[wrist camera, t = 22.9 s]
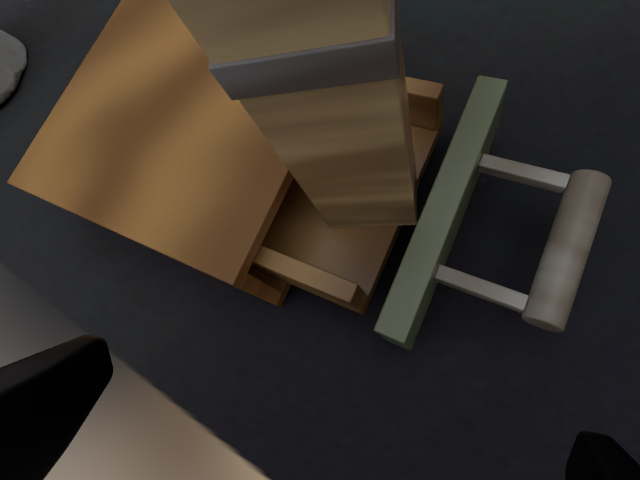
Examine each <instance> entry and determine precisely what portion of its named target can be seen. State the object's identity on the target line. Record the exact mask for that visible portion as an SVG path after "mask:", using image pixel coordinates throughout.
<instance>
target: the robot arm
mask: <svg viewBox="0 0 640 480" xmlns="http://www.w3.org/2000/svg"><path fill="white" fill-rule="evenodd" d="M112 374H113V365H112V362H111V357H110V353H109V349H108V346H107V342H106V341H105V340H104V339H103V338H101V337H96V336H91V335H83V336H80V337H78V338H75V339H72V340H70V341H67V342H65V343H62V344H60V345H57V346H54V347H52V348H49V349H47V350H44V351H42V352H39V353H37V354H34V355H31V356H29V357H26V358H24V359H21V360H19V361H16V362H13V363H11V364H8V365H6V366H3V367H1V368H0V480H43V479H44V478H45V477H46V476H47V474H48V473H49V472H50V470H51V469H52V467H53V466H54V465H55V463H56V462H57V461H58V459H59V458H60V457H61V456H62V454H63V453H64V451H65V450H66V449H67V447H68V446H69V444H70V443H71V441H72V440H73V438H74V437H75V435H76V433H77V432H78V430H79V429H80V427H81V426H82V424H83V422H84V421H85V419H86V418H87V416H88V415H89V413H90V411H91V410H92V408H93V407H94V405H95V403H96V402H97V400H98V399H99V397H100V395H101V394H102V392H103V391H104V389H105V388H106V386H107V384H108V383H109V381H110V379H111V377H112ZM565 476H566V480H640V465H639V464H638V463H637V462H636V461H635V460H634V459H633V458H632V457H631V456H630V455H629V454H628V453H627V452H626V451H625V450H624V449H623V448H622V447H621V446H620V445H619V444H618V443H617V442H616V441H615V440H614V439H613V438H611V437H610V436H608V435H605V434H599V433H594V432H589V431H581V432H580V433H579V434H578V435H577V437H576V440H575V442H574V445H573V448H572V450H571V453H570V456H569V458H568V461H567V464H566V471H565Z"/></svg>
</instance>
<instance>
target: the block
mask: <svg viewBox="0 0 640 480" xmlns="http://www.w3.org/2000/svg"><path fill="white" fill-rule="evenodd" d="M167 1H168V2H169V4H170V5H171V7H172V8H173V9H174V11H175V12H176V13H177V15H178V16H179V18H180V19H181V20H182V22H183V23H184V25H185V26H186V27H187V29H188V30H189V32H190V33H191V34H192V36H193V37H194V39H195V40H196V41H197V43H198V44H199V46H200V47H201V48H202V50H203V51H204V53H205V54H206V55H207V57H208V58H209V60H210V61H209V67H208V68H209V71H210V72H211V73H212V75H213V76H214V77H215V79H216V80H217V81H218V83H219V84H220V85H221V87H222V88H223V89H224V91H225V92H226V93H227V95H228V96H229V98H230V99H231V100H239V101H240V103H241V104H242V106H243V107H244V108H245V110H246V111H247V113H248V114H249V115H250V117H251V118H252V120H253V121H254V122H255V124H256V125H257V127H258V128H259V129H260V131H261V132H262V134H263V135H264V136H265V138H266V139H267V140H268V142H269V143H270V145H271V146H272V147H273V149H274V150H275V152H276V153H277V154H278V156H279V157H280V159H281V160H282V161H283V163H284V164H285V166H286V167H287V168H288V170H289V171H290V173H291V174H292V175H293V177H294V178H295V180H296V181H297V182H298V184H299V185H300V187H301V188H302V189H303V191H304V192H305V194H306V195H307V196H308V198H309V199H310V200H311V202H312V203H313V205H314V206H315V207H316V209H317V210H318V212H319V213H320V214H321V216H322V217H323V219H324V220H325V221H326V223H327V224H328V226H329V227H330V228H348V227H372V226H397V225H417V223H418V221H417V172H416V164H415V155H414V146H413V138H412V129H411V120H410V111H409V103H408V94H407V85H406V77H405V68H404V59H403V51H402V42H401V33H400V0H167Z"/></svg>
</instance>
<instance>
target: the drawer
mask: <svg viewBox="0 0 640 480" xmlns="http://www.w3.org/2000/svg"><path fill="white" fill-rule="evenodd" d="M507 84H508V81H507V80H503V79H498V78H492V77H487V76H481V75H479V76H478V77H477V79H476V82H475V84H474V87H473V89H472V92H471V94H470V96H469V99H468V101H467V104H466V106H465V109H464V111H463V113H462V116H461V118H460V121H459V123H458V126H457V128H456V130H455V133H454V135H453V138H452V140H451V143H450V145H449V147H448V150H447V152H446V155H445V157H444V160H443V162H442V164H441V167H440V169H439V172H438V174H437V177H436V179H435V181H434V184H433V186H432V189H431V191H430V194H429V196H428V198H427V201H426V203H425V206H424V208H423V211H422V213H421V215H420V218H419V220H418V223H417V225H416V228H415V230H414V232H413V235H412V237H411V240H410V242H409V245H408V247H407V249H406V252H405V254H404V257H403V259H402V262H401V264H400V266H399V269H398V271H397V274H396V276H395V279H394V281H393V283H392V286H391V288H390V291H389V293H388V296H387V298H386V300H385V303H384V305H383V308H382V310H381V313H380V315H379V317H378V320H377V322H376V325H375V327H374V331H375V332H376V333H377V334H379V335H380V336H381V337H383V338H384V339H385V340H387V341H389V342H391V343H393V344H396V345H398V346H400V347H402V348H405V349H407V350H409V351H411V350H412V348H413V345H414V343H415V340H416V338H417V335H418V332H419V330H420V327H421V325H422V322H423V320H424V317H425V314H426V312H427V309H428V307H429V304H430V302H431V299H432V296H433V294H434V291H435V289H436V286H437V284H438V283H441V284H444V285H446V286H449V287H452V288H455V289H457V290H460V291H463V292H465V293H468V294H471V295H473V296H476V297H479V298H482V299H484V300H487V301H490V302H492V303H495V304H498V305H501V306H503V307H506V308H509V309H511V310H514V311H517V312H519V313H521V312H522V311H523V312H522V315H521V316H522V319H523V320H525V321H526V322H528V323H530V324H532V325H534V326H536V327H539V328H542V329H545V330H548V331H553V332H563V331H564V330H565V327H566V324H567V321H568V317H569V314H570V311H571V308H572V305H573V302H574V299H575V296H576V293H577V289H578V286H579V283H580V280H581V277H582V274H583V271H584V268H585V265H586V261H587V258H588V255H589V252H590V249H591V246H592V243H593V240H594V237H595V233H596V230H597V227H598V224H599V221H600V218H601V215H602V212H603V209H604V205H605V202H606V199H607V196H608V193H609V190H610V187H611V184H612V182H611V179H610V177H609V176H608V175H606V174H604V173H602V172H599V171H595V170H588V169H583V170H577V171H574V172H573V173H571V174H570V175H569V174H565V173H561V172H557V171H553V170H549V169H545V168H541V167H537V166H533V165H529V164H525V163H521V162H516V161H512V160H508V159H504V158H500V157H496V156H492V155H488V153H489V150H490V148H491V145H492V143H493V140H494V138H495V135H496V132H497V129H498V124H499V120H500V116H501V111H502V107H503V102H504V98H505V93H506V89H507ZM406 85H407V94H408V103H409V111H410V120H411V129H412V138H413V146H414V155H415V164H416V172H417V189H418V186H419V184H420V182H421V179H422V177H423V174H424V172H425V170H426V167H427V165H428V163H429V160H430V158H431V155H432V153H433V151H434V148H435V146H436V143H437V141H438V139H439V136H440V134H441V131H442V129H443V88H444V86H443V84H441V83H436V82H431V81H426V80H421V79H415V78H410V77H406ZM480 173H485V174H489V175H492V176H496V177H500V178H504V179H508V180H511V181H515V182H519V183H523V184H527V185H530V186H534V187H538V188H542V189H546V190H549V191H553V192H557V193H563V192H564V193H563V196H562V199H561V202H560V205H559V208H558V211H557V214H556V216H555V219H554V222H553V225H552V228H551V231H550V234H549V237H548V240H547V243H546V246H545V248H544V251H543V254H542V257H541V260H540V263H539V266H538V269H537V272H536V275H535V278H534V280H533V283H532V286H531V289H530V292H529V295H526V294H523V293H520V292H517V291H515V290H512V289H509V288H506V287H503V286H500V285H498V284H495V283H492V282H489V281H486V280H483V279H481V278H478V277H475V276H472V275H469V274H466V273H464V272H461V271H458V270H455V269H452V268H449V267H447V266H445V263H446V261H447V258H448V255H449V253H450V250H451V248H452V245H453V243H454V240H455V238H456V235H457V232H458V230H459V227H460V225H461V222H462V220H463V217H464V214H465V212H466V209H467V207H468V204H469V202H470V199H471V196H472V194H473V191H474V189H475V186H476V184H477V181H478V179H479V176H480ZM401 227H402V225H397V226H372V227H348V228H330V227H329V226H328V224H327V223H326V221H325V220H324V219H323V217H322V216H321V214H320V213H319V212H318V210H317V209H316V207H315V206H314V205H313V203H312V202H311V200H310V199H309V198H308V196H307V195H306V194H305V192H304V191H303V189H302V188H301V187H300V185H299V184H298V182H297V181H296V180H295V178H293V180H292V182H291V184H290V186H289V188H288V190H287V192H286V194H285V196H284V198H283V200H282V202H281V204H280V207H279V209H278V211H277V213H276V215H275V217H274V219H273V221H272V223H271V225H270V227H269V229H268V231H267V233H266V235H265V237H264V240H263V242H262V244H261V246H260V248H259V250H258V252H257V254H256V256H255V258H254V260H253V262H252V264H251V266H250V267H252V268H254V269H256V270H259V271H261V272H263V273H266V274H268V275H270V276H273V277H275V278H277V279H280V280H282V281H284V282H287V283H289V284H291V285H294V286H296V287H299V288H301V289H303V290H306V291H308V292H310V293H313V294H315V295H317V296H320V297H322V298H324V299H327V300H329V301H331V302H334V303H336V304H338V305H341V306H343V307H345V308H348V309H350V310H352V311H355V312H357V313H359V314H362V315H365V313H366V311H367V308H368V306H369V303H370V301H371V299H372V296H373V294H374V291H375V289H376V287H377V284H378V282H379V279H380V277H381V275H382V272H383V270H384V268H385V265H386V263H387V260H388V258H389V256H390V253H391V251H392V248H393V246H394V244H395V241H396V239H397V237H398V234H399V232H400V229H401Z"/></svg>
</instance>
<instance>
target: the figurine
mask: <svg viewBox="0 0 640 480" xmlns="http://www.w3.org/2000/svg"><path fill="white" fill-rule="evenodd" d="M26 54H27V49H26V47H25V45H23V44H22V43H21V42H20V41H19V40H18V39H16V38H15V37H13V36H11V35H9V34H7V33H6V32H4V31H2V30H0V105H1V104H2V103H4V102H5V101H6V100H7V99H8V98H9V97H10V96H11V94H12V93H13V92H14V91H15V89H16V88H17V86H18V83H19V80H20V77H21V74H22V72H23V70H24V69H25V67H26V65H27V57H26Z"/></svg>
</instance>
